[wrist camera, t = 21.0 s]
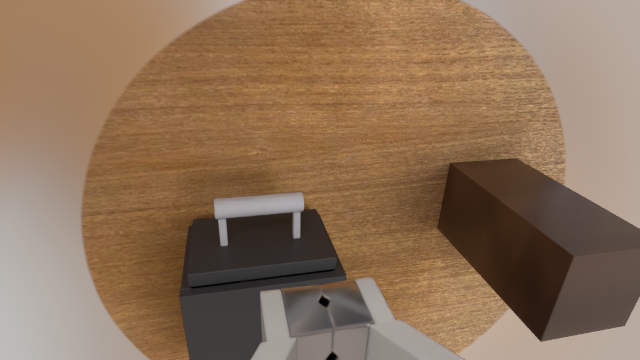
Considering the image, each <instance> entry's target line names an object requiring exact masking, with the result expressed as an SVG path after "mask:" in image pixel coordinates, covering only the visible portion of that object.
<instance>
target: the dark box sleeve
mask: <svg viewBox="0 0 640 360" xmlns="http://www.w3.org/2000/svg"><path fill="white" fill-rule="evenodd" d="M318 216H319V218H320V220H321V222H322V219H321V217H320V215H318ZM322 225H323V227H324V229H325V226H324V224H323V222H322ZM192 229H193V226H189V229H188V236H187V244H186V251H185V259H184V267H183V274H182V282H181V289H180V296H179V298H180V304H181V311H182V317H183V323H184V329H185V335H186V341H187V347H188V353H189V359H190V360H251V358H252V356H253V355H254V353H255V351H256V350H257V348H258V346H259V345H260V343H262V327H261V304H260V292H261V291H268V290H277V289H282V288H292V287H301V286H310V285H319V284H326V283H333V282H340V281H346V274H345V271H344V269H343V267H342V265H341V263H340V260H339V258H338V256H337V254H336V251H335V249H334V247H333V244H332V242H331V240H330V238H329V235H328V233H327V231H326V229H325V232H326V234H327V236H328V239H329V241H330V243H331V245H332V248H333V250H334V252H335V255H336V257H337V263H336V269H332V270H324V271H323V272H321V273H313V274H305V275H297V276H289V277H281V278H273V279H265V280H258V281H250V282H242V283H234V284H226V285H218V286H210V287H202V288H201V286H196V287H189V285H188V278H187V272H188V264H189V255H190V246H191V238H192Z"/></svg>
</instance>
